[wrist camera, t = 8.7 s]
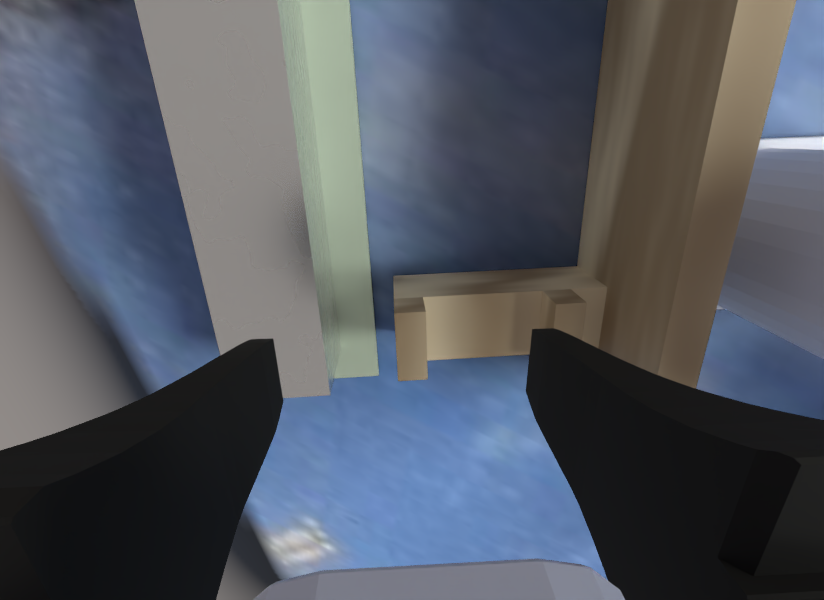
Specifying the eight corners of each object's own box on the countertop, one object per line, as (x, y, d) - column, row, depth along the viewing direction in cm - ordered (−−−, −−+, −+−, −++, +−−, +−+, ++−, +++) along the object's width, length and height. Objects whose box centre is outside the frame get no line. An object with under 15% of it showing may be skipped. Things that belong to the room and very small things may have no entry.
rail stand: (701, -388, 12) (1046, -966, 6) (593, 362, 22) (677, 457, 16) (354, -388, 12) (313, -1001, 6) (399, 374, 22) (403, 475, 15)
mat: (319, -374, 12) (317, -391, 12) (378, 371, 22) (378, 375, 21) (58, -374, 12) (47, -391, 11) (234, 380, 21) (231, 384, 21)
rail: (265, -299, 12) (211, -486, 9) (341, 348, 21) (330, 395, 17) (129, -298, 12) (16, -487, 8) (260, 353, 20) (231, 401, 17)
